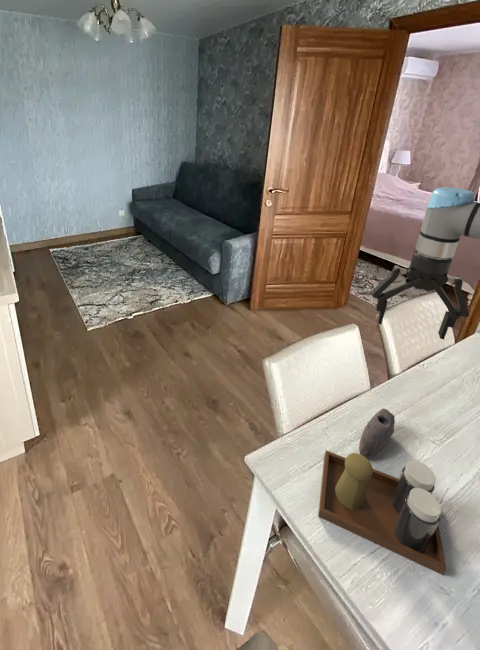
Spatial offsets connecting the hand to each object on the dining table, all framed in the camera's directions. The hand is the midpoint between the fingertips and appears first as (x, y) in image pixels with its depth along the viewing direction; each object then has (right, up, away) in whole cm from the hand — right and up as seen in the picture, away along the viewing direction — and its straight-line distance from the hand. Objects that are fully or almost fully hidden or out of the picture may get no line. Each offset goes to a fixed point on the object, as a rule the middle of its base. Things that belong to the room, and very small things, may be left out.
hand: (409, 328), depth 89 cm
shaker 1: (-11, -34, -15) cm, 39 cm away
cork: (-22, -34, -13) cm, 43 cm away
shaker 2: (-14, -37, -21) cm, 44 cm away
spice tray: (-18, -35, -15) cm, 42 cm away
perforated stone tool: (-10, -29, -1) cm, 31 cm away
